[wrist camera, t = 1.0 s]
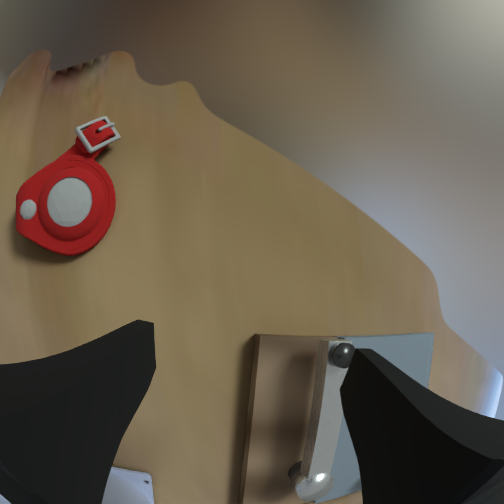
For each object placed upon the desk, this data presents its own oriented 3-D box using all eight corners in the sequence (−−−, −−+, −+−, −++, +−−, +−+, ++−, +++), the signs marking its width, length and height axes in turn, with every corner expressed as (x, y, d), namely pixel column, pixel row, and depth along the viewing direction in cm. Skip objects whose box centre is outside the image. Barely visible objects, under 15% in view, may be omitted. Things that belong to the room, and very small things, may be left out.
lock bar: (320, 487, 16) (333, 500, 14) (287, 494, 16) (299, 508, 13) (346, 338, 20) (365, 341, 17) (310, 338, 19) (327, 342, 17)
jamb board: (303, 495, 19) (314, 508, 16) (238, 503, 17) (245, 519, 14) (328, 336, 23) (346, 338, 20) (255, 333, 21) (265, 337, 18)
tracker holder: (124, 249, 19) (9, 263, 14) (121, 249, 23) (24, 261, 18) (123, 104, 18) (17, 115, 13) (119, 126, 22) (27, 134, 17)
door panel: (395, 466, 22) (405, 471, 20) (306, 494, 19) (314, 503, 17) (421, 332, 26) (434, 332, 24) (332, 336, 23) (344, 337, 21)
